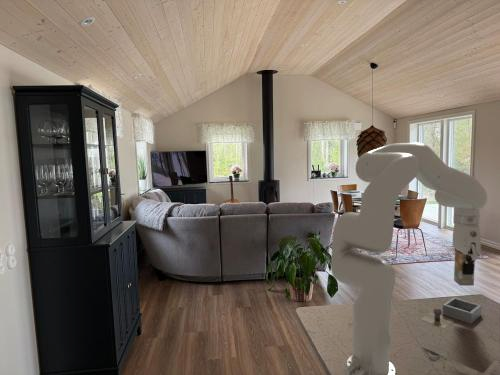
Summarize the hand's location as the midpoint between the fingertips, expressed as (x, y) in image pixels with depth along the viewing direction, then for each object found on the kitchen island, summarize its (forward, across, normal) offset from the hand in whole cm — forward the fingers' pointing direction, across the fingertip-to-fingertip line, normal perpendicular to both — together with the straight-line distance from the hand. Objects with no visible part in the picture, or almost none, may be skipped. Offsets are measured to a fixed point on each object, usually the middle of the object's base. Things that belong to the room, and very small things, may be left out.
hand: (464, 270), depth 122 cm
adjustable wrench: (+18, -12, +20) cm, 30 cm away
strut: (+4, 0, 0) cm, 4 cm away
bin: (+17, 0, 0) cm, 17 cm away
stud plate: (+17, -4, +10) cm, 20 cm away
